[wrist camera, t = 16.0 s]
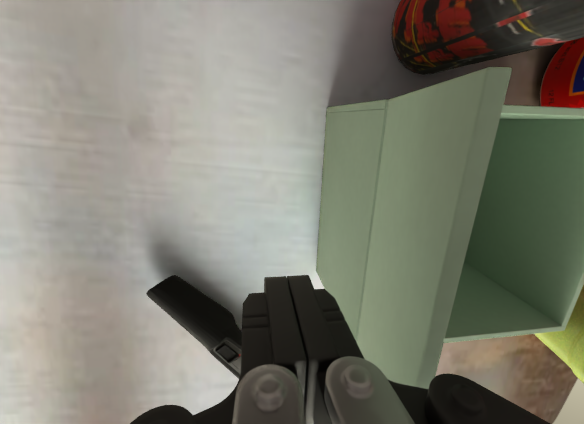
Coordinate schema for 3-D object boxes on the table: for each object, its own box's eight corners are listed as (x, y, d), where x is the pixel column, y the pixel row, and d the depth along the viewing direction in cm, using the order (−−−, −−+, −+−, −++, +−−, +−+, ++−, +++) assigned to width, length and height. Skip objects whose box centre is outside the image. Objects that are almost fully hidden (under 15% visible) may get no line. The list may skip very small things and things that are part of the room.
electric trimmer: (180, 255, 23) (169, 275, 20) (291, 361, 28) (296, 390, 25) (145, 282, 23) (129, 305, 20) (261, 382, 28) (262, 413, 25)
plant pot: (561, 240, 29) (687, 288, 20) (582, 298, 32) (698, 359, 24) (484, 293, 29) (576, 360, 21) (512, 344, 32) (601, 420, 24)
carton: (315, 270, 25) (354, 352, 16) (326, 107, 21) (386, 98, 12) (462, 262, 27) (564, 330, 19) (499, 114, 23) (655, 111, 14)
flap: (361, 362, 16) (354, 361, 16) (398, 99, 11) (388, 99, 11) (392, 550, 9) (379, 548, 9) (513, 66, 4) (488, 65, 5)
